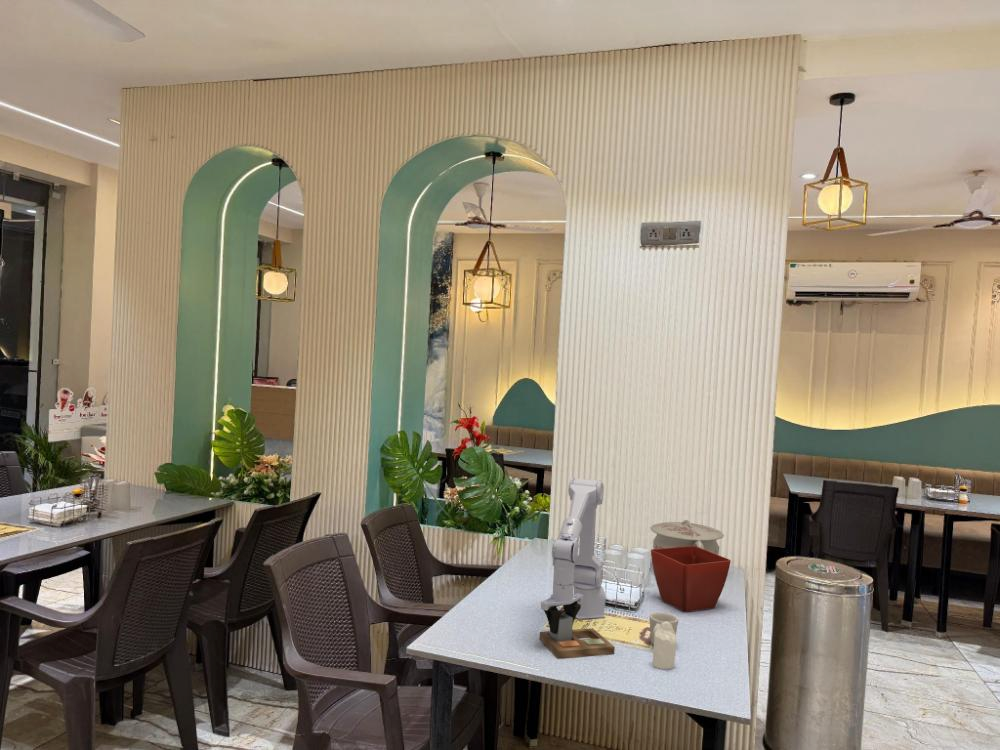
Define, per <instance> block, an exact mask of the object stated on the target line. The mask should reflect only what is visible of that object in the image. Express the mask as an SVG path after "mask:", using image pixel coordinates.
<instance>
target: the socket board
mask: <svg viewBox="0 0 1000 750" xmlns="http://www.w3.org/2000/svg"><path fill="white" fill-rule="evenodd" d="M549 634H550V630H549V631H540V632H539V640H540V641H541V643H543V644H544V646H545V647H546V648H547V649H549V651H550V652H551V653H552V654H553V655H554V656H555V657H556V658H557V659H559V660H560V659H570V658H572V659H573V658H582V657H583V658H585V657H594V656H607V655H615V650H616V649H615V645H613V644H612V643H611V642H610V641H609V640H607V639H606V638H605V637H604V636H603V635H601V634H600V633H599V632H598V631H597V630H595V629H594V628H579V629H577V628H576V629H572V640H570V641H557V642H555V641H554V640H553V639H552V638H551V637H550V636H549Z"/></svg>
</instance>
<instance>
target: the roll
mask: <svg viewBox="0 0 1000 750" xmlns="http://www.w3.org/2000/svg"><path fill="white" fill-rule="evenodd" d="M676 649H677V633H676V634H675V631H674V630H673V628H672V624H670V623H669V622H667V621H666V622H664V623H662V624H661V626H660V627H659V629H658V630H657V631H656V632H655V634H654V644H653V652H652V653H653V654H652V665H653V667H654V668H657V669H661V670H672V669H674V668H675V664H676V663H675V660H676V651H677V650H676Z"/></svg>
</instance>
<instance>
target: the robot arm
mask: <svg viewBox="0 0 1000 750" xmlns="http://www.w3.org/2000/svg"><path fill="white" fill-rule="evenodd" d="M604 487H605V486H604V483H603V481H602V480H595V479H585V478H579V477H578V478H577V477H571V479H570V480H569V482H568V490H567V491H568V492H567V493H568V496H569V499H570V501H571V504H570V507H569V514H568V517H566V518H565V519H564V520H563V522H562V525H561V528H560V530H559V534H558V537H557V539H555V540H553V543H552V547H551V556H552V557H551V559H552V566H553V578H552V580H553V581H552V594H550V597H549V598H547V599H545V600H542V601H541V602H540V609H542V610H543V612H544V614H545V616H546V619H547V623H548V626H549V627H548V628H549V631H550V632H551V633H554V634H557V632H558V623H559V618H560V615H561V613H562V611H560V610H561V609H559V608H558V607H560V606H562V607H563V610H565V611H566V612H565V614H567V615H569V616H570V617H572V618H573V625H574V623H575V619H577V620H584V619H585V620H586V619H599V618H605V617H606V615H605V604H606V603H605V601H606V594H605V590H604V588H603V586H602V584H603V579H604V569H603V568H604V567H603V566H604V565H603V561H602V560H601V559H599V558H598V557H597V556H596V555H595V545H596V525H597V524H596V521H597V508H598V506H599V505H603V502H604V492H605V491H604V489H605V488H604ZM573 625H572V627H573Z"/></svg>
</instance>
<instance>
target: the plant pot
mask: <svg viewBox="0 0 1000 750" xmlns="http://www.w3.org/2000/svg"><path fill="white" fill-rule="evenodd" d="M650 554H651V555H650V556H651V563H652V568H653V574H654V578H655V582H656V586H657V590H658V592H659V596H660V598H661V600H662V601H663V602H664V603H667V604H668V605H670V606H672V607H674V608H676V609H677V610H679V611H682V612H684V613H686V612H687V613H688V612H693V611H694V612H696V611H702V610H703V611H704V610H710V609H714V608H715V607H716V605H717V603H718V601H719V599H720V597H721V594H722V592H723V590H724V587H725V585H726V581H727V577H728V575H729V572H730V566H731V561H732V560H731V559H729V558H727V557H725V556H721V555H720V554H719V555H717V554H714V553H712V552H709V551H707V550H704V549H702V548H699V547H697V546H685V547H673V548H662V549H651V550H650Z"/></svg>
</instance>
